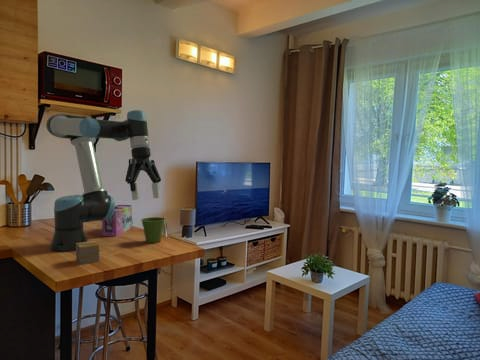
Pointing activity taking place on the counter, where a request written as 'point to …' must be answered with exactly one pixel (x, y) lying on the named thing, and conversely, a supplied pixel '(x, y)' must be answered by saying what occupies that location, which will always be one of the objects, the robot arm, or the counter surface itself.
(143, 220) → the plant pot
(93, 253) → the block
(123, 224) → the gum box
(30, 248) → the counter surface
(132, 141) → the robot arm
